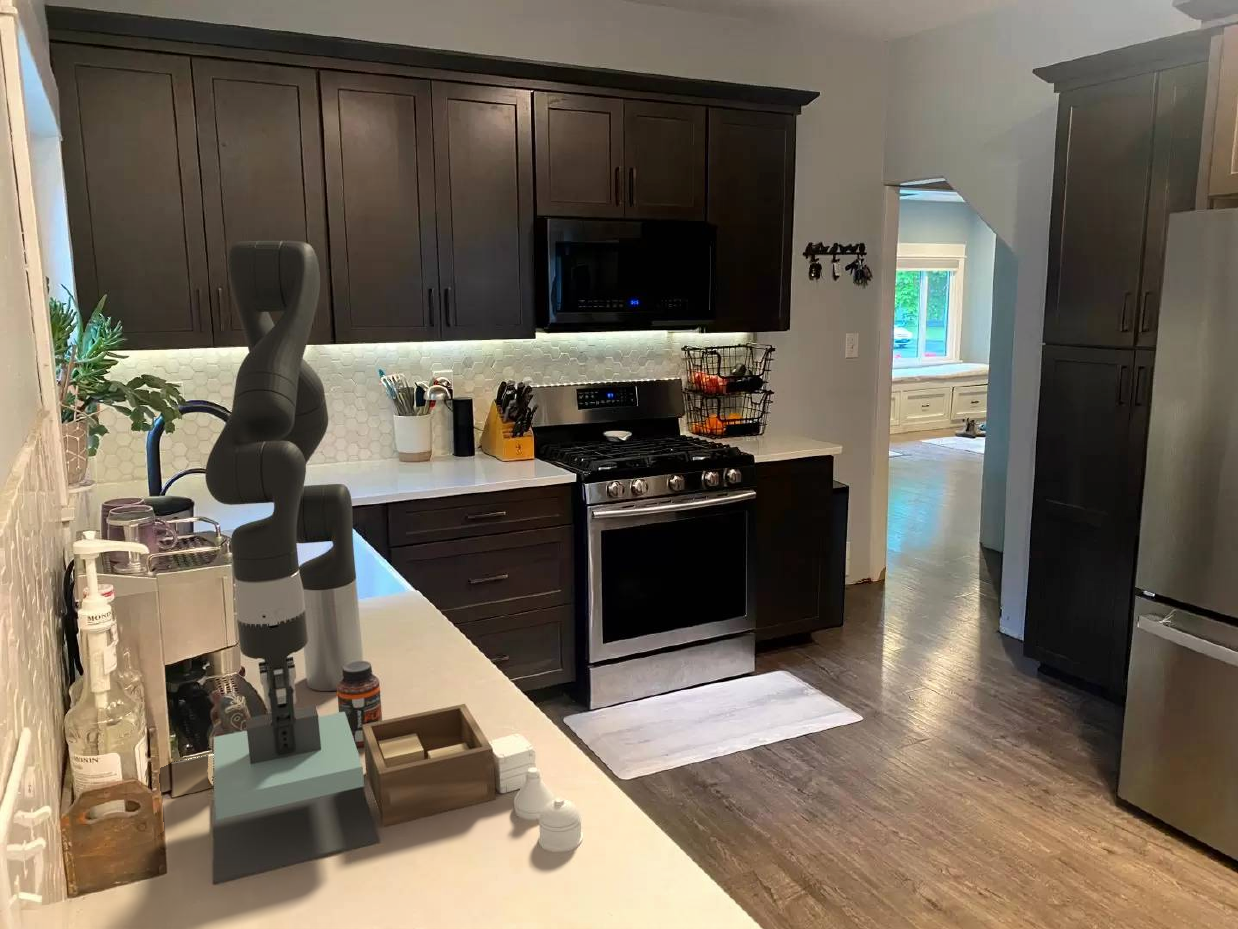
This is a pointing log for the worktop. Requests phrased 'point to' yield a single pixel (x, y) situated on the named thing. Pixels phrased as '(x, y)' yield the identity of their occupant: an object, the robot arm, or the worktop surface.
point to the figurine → (227, 716)
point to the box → (427, 764)
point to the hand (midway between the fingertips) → (284, 745)
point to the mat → (290, 834)
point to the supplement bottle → (359, 697)
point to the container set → (535, 794)
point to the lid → (284, 763)
